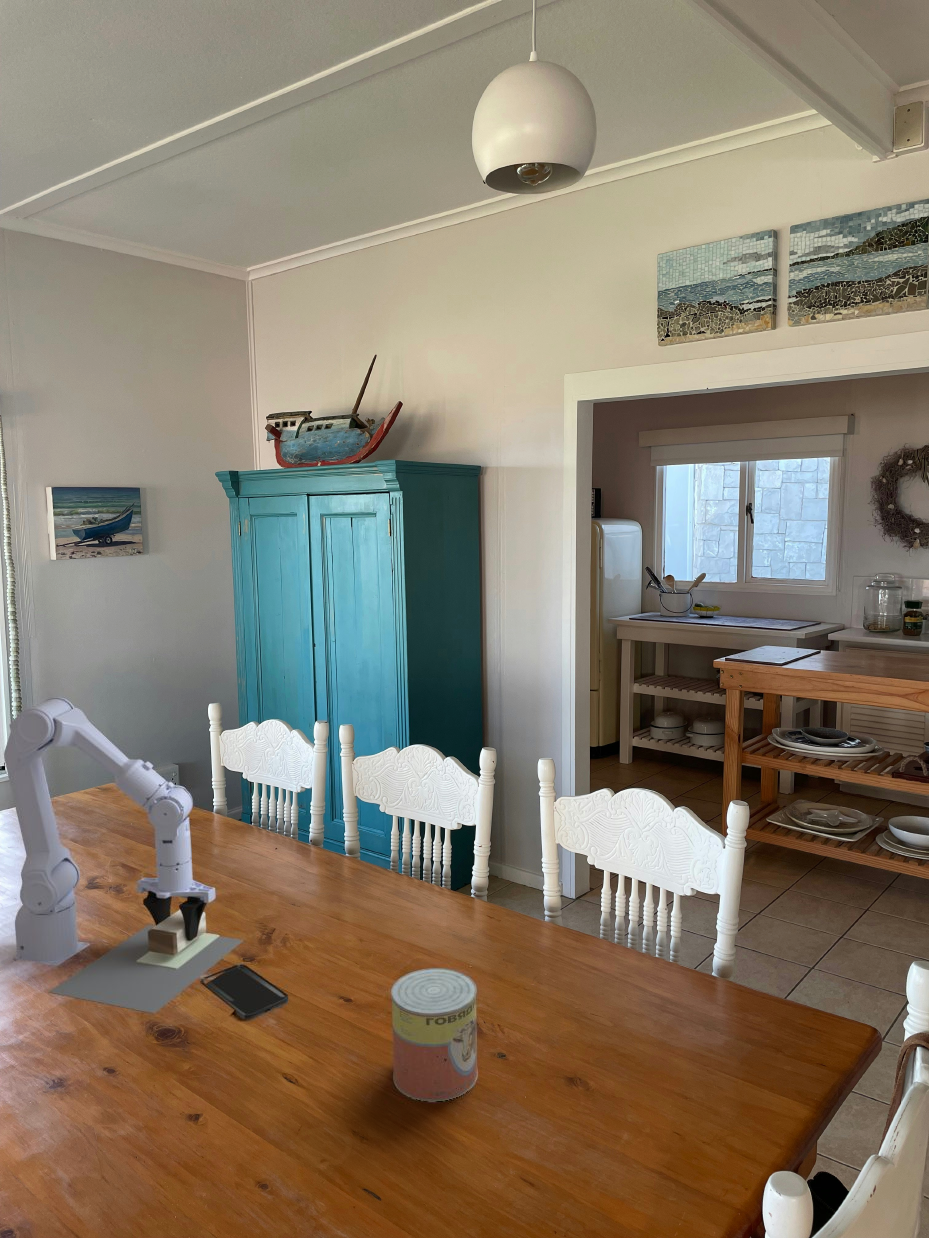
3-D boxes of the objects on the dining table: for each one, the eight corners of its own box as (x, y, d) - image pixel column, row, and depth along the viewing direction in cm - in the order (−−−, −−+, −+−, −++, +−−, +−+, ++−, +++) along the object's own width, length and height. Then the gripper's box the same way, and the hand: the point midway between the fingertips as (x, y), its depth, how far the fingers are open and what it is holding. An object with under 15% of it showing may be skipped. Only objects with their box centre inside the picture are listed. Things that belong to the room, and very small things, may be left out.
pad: (176, 969, 146) (176, 968, 146) (136, 961, 148) (136, 960, 148) (219, 936, 157) (219, 935, 157) (181, 929, 160) (181, 928, 160)
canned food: (447, 1113, 111) (446, 1023, 109) (376, 1083, 117) (373, 997, 115) (493, 1065, 120) (492, 981, 119) (424, 1040, 126) (423, 960, 125)
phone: (242, 962, 148) (291, 996, 137) (242, 968, 148) (291, 1003, 137) (197, 979, 142) (245, 1017, 131) (198, 986, 142) (245, 1024, 131)
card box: (182, 927, 158) (181, 908, 157) (206, 931, 156) (205, 912, 155) (148, 951, 149) (147, 931, 149) (173, 955, 147) (172, 935, 147)
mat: (48, 995, 139) (48, 991, 139) (149, 927, 162) (148, 924, 162) (154, 1017, 133) (154, 1013, 133) (243, 943, 156) (243, 940, 155)
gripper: (122, 863, 149) (127, 940, 151) (195, 874, 145) (200, 952, 146) (150, 848, 156) (154, 922, 158) (221, 858, 151) (224, 933, 153)
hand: (178, 935), depth 152 cm, fingers closed on card box, 5 cm apart
